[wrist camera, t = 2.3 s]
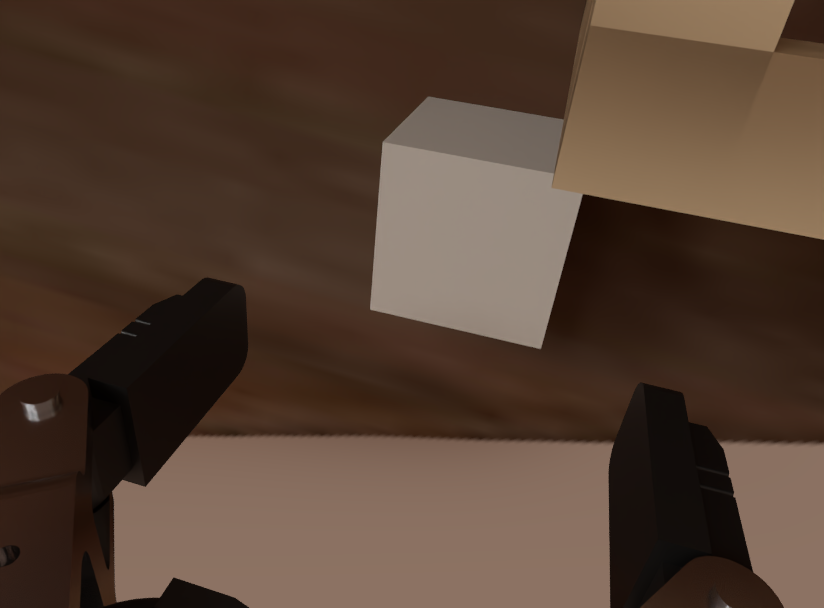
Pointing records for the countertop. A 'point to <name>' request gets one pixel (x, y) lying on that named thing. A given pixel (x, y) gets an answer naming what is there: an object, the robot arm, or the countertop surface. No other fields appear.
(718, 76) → the frame
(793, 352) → the countertop surface
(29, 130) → the countertop surface
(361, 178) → the countertop surface
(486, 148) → the white cube
